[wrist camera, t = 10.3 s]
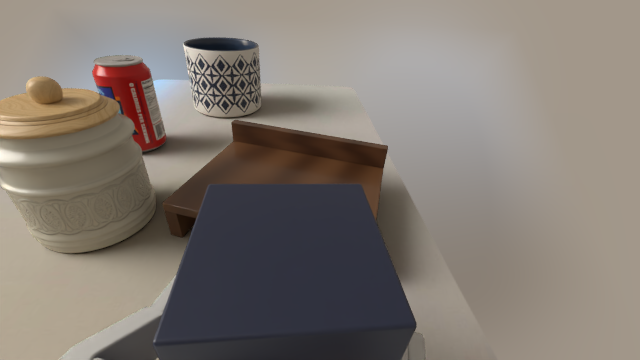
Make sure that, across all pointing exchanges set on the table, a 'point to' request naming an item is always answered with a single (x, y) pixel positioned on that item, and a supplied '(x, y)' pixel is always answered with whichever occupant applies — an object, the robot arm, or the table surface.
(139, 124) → the soda can
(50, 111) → the jar
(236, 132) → the wooden display stand
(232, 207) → the navy stepped block
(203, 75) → the planter
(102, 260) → the table surface
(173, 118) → the table surface
